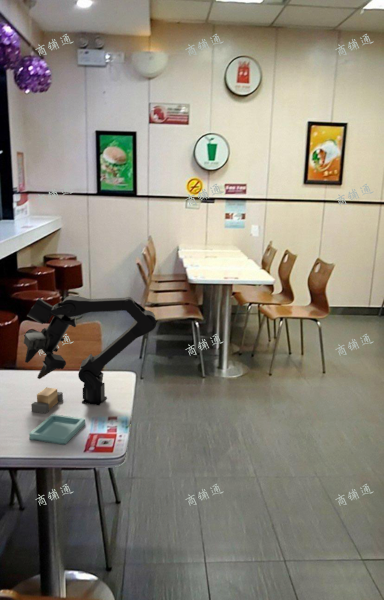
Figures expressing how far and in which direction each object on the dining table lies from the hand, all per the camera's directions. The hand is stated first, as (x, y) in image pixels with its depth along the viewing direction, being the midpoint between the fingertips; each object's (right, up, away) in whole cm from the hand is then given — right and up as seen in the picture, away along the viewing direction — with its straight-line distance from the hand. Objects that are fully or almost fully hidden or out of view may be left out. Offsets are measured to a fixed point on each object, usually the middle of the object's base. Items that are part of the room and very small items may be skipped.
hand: (32, 370), depth 161 cm
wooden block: (+5, -12, 0) cm, 13 cm away
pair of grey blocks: (+5, -12, 0) cm, 13 cm away
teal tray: (+13, -16, -17) cm, 26 cm away
